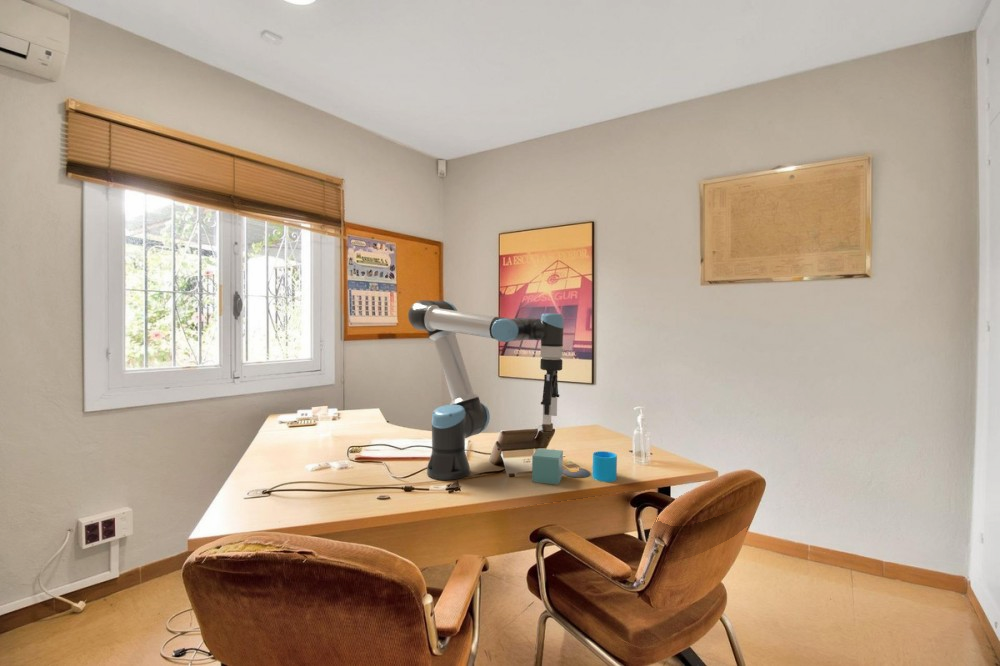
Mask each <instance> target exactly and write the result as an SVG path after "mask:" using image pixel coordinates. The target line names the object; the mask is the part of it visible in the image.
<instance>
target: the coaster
mask: <svg viewBox="0 0 1000 666" xmlns="http://www.w3.org/2000/svg"><path fill="white" fill-rule="evenodd" d="M578 468H579V471H578V472H570V471H568V470H566V469H564V468H563V476H566V477H569V478H576V479H577V478H579V479H580V478H581V479H582V478H587V477H589V475H591V472H590V470H588V469H586V468H583V467H578Z"/></svg>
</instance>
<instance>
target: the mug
mask: <svg viewBox="0 0 1000 666" xmlns="http://www.w3.org/2000/svg"><path fill="white" fill-rule="evenodd" d="M617 461H618V455H617V454H616V453H614V452H612V451H611V452H610V451H604V450H603V451H602V450H601V451H599V450H598V451H595V452H593V453H592V479H593V480H595V479H596V480H595V481H599V482H602V481H604V482H605V483H612V482H616V480H617V477H618V476H617V474H618V473H617V471H618V470H617V468H618V462H617ZM604 482H603V483H604Z"/></svg>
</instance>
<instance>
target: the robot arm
mask: <svg viewBox="0 0 1000 666" xmlns="http://www.w3.org/2000/svg"><path fill="white" fill-rule="evenodd" d="M407 319H408V322H409V324H410V325H411V327H413V328H414V329H415V330H418V331H420V332H421V331H423V332H424V331H425V332H427V335H428V338H429V339H430V340H431V341H433V342H434V344H435V348H436V351H437V355H438V358H439V361H440V365H441V367H442V371H443V374H444V378H445V381H446V386H447V388H448V392H449V394H450V395H449V396H450V398H451V401H450V403H449V404H447V405H442V406H438V407H436V408H435V409H434V410H433V412H432V414H431V416H432V419H431V455H430V457H429V461H428V464H427V467H426V475H427V476H428V477H430V478H432V479H436V480H441V481H442V480H443V481H445V480H446V481H448V480H449V481H450V480H451V481H452V480H458V479H463V478H466V477H467V476H468V475H469V474H470V471H471V469H470V463H469V460H468V457H467V454H466V448H465V447H466V446H465V445H466V439H468V438H471V437H472V436H476V435H479V434H481V433H482V432H484V430H486V429H487V427H488V426H489V424H490V420H491V415H490V414H491V413H490V410H489V409H488V406H487V405H485V404H484V403H483V402H481V400H480V397H479V396H478V395H477V394H475V393H474V391H473V388H472V385H471V382H470V378H469V374H468V372H467V369H466V365H465V362H464V359H463V355H462V352H461V349H460V346H459V343H458V338H457V337H456V335H457V334H463V335H469V336H475V337H482V338H486V339H487V338H488V339H494V340H496V341H498V342H503V343H509V342H515V341H540V355H539V356H540V357H541V359H540V362H539V363H540V366H539V367H540V370H542V371H545V372H546V373H544V377H543V378H544V379H543V380H544V381H543V391H542V400H541V401H540V405H542V425H552V417H557V416H558V398H560V394H559V387H558V386H559V383H558V372H559V371H562V370H563V359H562V358H563V354H564V352H565V349H564V348H563V347H564V328H565V327H564V315H562V313H541V317H540V318H524V317H523V318H522V317H517V318H508V317H500V316H493V315H486V314H481V313H473V312H465V311H461V310H460V311H458V309H457V307H455V305H454V304H453V303H450V302H448V301H444V300H428V299H422V300H418V301H416V302H414V303H413V304H412V305H410V307H409V310H408V314H407Z"/></svg>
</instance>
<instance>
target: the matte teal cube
mask: <svg viewBox="0 0 1000 666" xmlns="http://www.w3.org/2000/svg"><path fill="white" fill-rule="evenodd" d="M563 459H564V450H560V449H559V450H558V449H549V448H548V449H546V448H537V449H536V450H535V452H534V453H533V454H532V459H531V460H532V467H531V468H532V471H531V472H532V473H531V476H532V477H531V480H532V483H537V484H538V483H539V484H547V485H548V484H549V485H557V486H558V485H560V482H561V480H562V478H563V476H564V475H563V469H564V468H563V467H564V466H563V465H564V461H563Z"/></svg>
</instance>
